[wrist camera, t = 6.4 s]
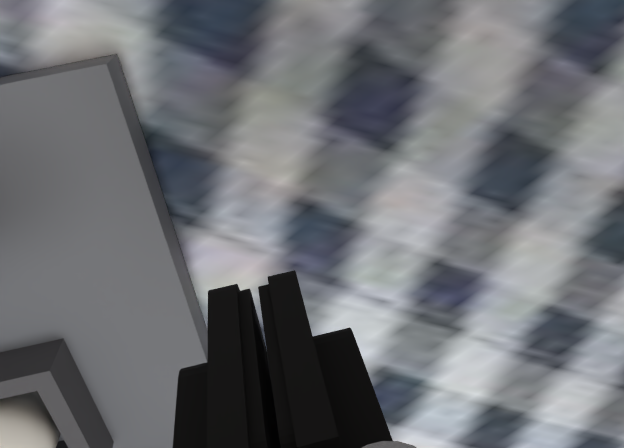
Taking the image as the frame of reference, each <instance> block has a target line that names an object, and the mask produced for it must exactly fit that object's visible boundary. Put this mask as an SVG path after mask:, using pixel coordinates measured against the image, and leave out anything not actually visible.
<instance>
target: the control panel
mask: <svg viewBox="0 0 624 448" xmlns="http://www.w3.org/2000/svg"><path fill="white" fill-rule="evenodd" d="M207 359H208V331H207V328H206V325H205V322H204V319H203V316H202V313H201V310H200V307H199V304H198V301H197V298H196V295H195V291H194V288H193V285H192V282H191V279H190V276H189V273H188V270H187V267H186V264H185V261H184V258H183V255H182V252H181V249H180V246H179V242H178V239H177V236H176V233H175V230H174V227H173V224H172V221H171V218H170V215H169V212H168V209H167V206H166V203H165V200H164V196H163V193H162V190H161V187H160V184H159V181H158V178H157V175H156V172H155V169H154V166H153V163H152V160H151V157H150V154H149V151H148V147H147V144H146V141H145V138H144V135H143V132H142V129H141V126H140V123H139V120H138V117H137V114H136V111H135V108H134V105H133V102H132V98H131V95H130V92H129V89H128V86H127V83H126V80H125V77H124V74H123V71H122V68H121V65H120V62H119V59H118V56H117V54H115V55H110V56H105V57H100V58H95V59H90V60H85V61H80V62H75V63H70V64H65V65H60V66H55V67H50V68H45V69H39V70H34V71H29V72H24V73H19V74H14V75H9V76H4V77H0V399H3V398H7V397H12V396H16V395H20V394H25V393H29V392H34V391H38V393H39V395H40V397H41V399H42V400H43V402H44V404H45V406H46V408H47V410H48V411H49V413H50V415H51V417H52V419H53V421H54V422H55V424H56V426H57V428H58V430H59V432H60V433H61V435H60V438H59V441H58V443H57V446H56V448H173V436H174V423H175V410H176V397H177V384H178V375H179V371H180V369H182V368H186V367H190V366H194V365H198V364H202V363H207Z"/></svg>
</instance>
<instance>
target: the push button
mask: <svg viewBox="0 0 624 448" xmlns="http://www.w3.org/2000/svg"><path fill="white" fill-rule="evenodd" d="M60 435H61V433H60V432H59V430H58V428H57V426H56V424H55V422H54V421H53V419H52V417H51V415H50V413H49V411H48V410H47V408H46V406H45V404H44V402H43V400H42V399H41V397H40V395H39V393H38V391H34V392H29V393H25V394H20V395H16V396H12V397H7V398H3V399H0V448H56V446H57V443H58V441H59V438H60Z"/></svg>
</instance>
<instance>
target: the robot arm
mask: <svg viewBox="0 0 624 448" xmlns="http://www.w3.org/2000/svg"><path fill="white" fill-rule="evenodd" d="M268 282H269V284H268V285H264V286H259V287H258V289H259V296H260V304H261V311H262V318H263V325H264V332H265V339H266V346H265V342H264V339H263V335H262V331H261V328H260V324H259V320H258V316H257V313H256V309H255V305H254V302H253V298H252V294H251V291H250V289H246V290H242V291H240V290H239V287H238V285H237V284H235V285H230V286H226V287H222V288H217V289H213V290H209V291H208V359H207V363H202V364H198V365H194V366H190V367H186V368H182V369H180V371H179V375H178V384H177V397H176V410H175V423H174V436H173V448H416V447H415V446H413V445H409V444H406V443H402V442H399V441H393V440H392V438H391V435H390V432H389V429H388V427H387V424H386V421H385V419H384V416H383V413H382V410H381V408H380V405H379V402H378V400H377V397H376V394H375V391H374V389H373V386H372V383H371V381H370V378H369V375H368V372H367V370H366V367H365V364H364V362H363V359H362V356H361V354H360V351H359V348H358V345H357V343H356V340H355V337H354V335H353V332H352V330H351V328H347V329H342V330H338V331H334V332H330V333H326V334H322V335H318V336H314V337H312V333H311V329H310V325H309V321H308V318H307V314H306V310H305V306H304V302H303V298H302V295H301V291H300V287H299V283H298V279H297V275H296V272H295V271H290V272H286V273H282V274H277V275H273V276H269V277H268ZM266 347H267V350H266Z"/></svg>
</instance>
